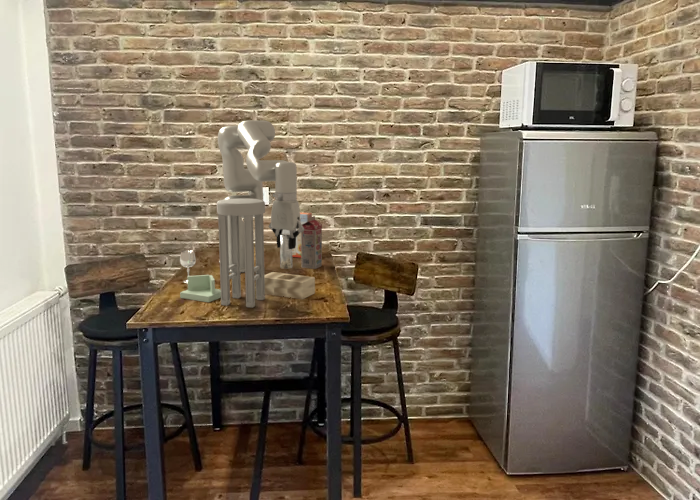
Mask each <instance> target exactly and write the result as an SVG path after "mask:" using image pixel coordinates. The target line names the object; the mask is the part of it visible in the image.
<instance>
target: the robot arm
mask: <svg viewBox="0 0 700 500" xmlns="http://www.w3.org/2000/svg"><path fill="white" fill-rule="evenodd" d="M275 138H276V129H275V126H274V125H273V123H272V122H270V120H261V119H260V120H257V119H256V120H255V119H247V120H243V121H241V122H240V123H238V125H227V126H223V127H221V128H220V129H219V131H218V133H217V145H218V149H219V152H220V155H221V158H222V159H221V160H222V172H223V173H222V174H223V175H222V176H223V185H224V188H225V190H226V191H227V192H230V193H243V192H244V193H245V192H247V193H249V194H240V195H239V194H236V195H234V194H233V195H228V196H226V197H225V198H223V199H222V200H224V199H243V198H245V199H259V200H263V201H264V189H263V188H264V186H263V183H264V182H275V183H274V184H275V185H274V187H275V190H274V191H275V192H274V193H272V197H273V198H275V199H274V200H273V202H272V207H271V212H270V223H269V224H268V229H270V230H271V231H272V232H273V234H274V235H275V237H276V247H277V248H278V249H280V234H282V231H283V230H289V231H290V236H291V238H290V239H289V249H294V248H295V246H296V237H297V236H298V235H299V234H300V233H301V232H302V231H304V228H303V226H302V224H301V219H300V212H301V211H300V210H301V208H300V203H299V200H298V199H297V198H298V197H297V196H298V194H297V193H298V192H297V190H298V188H297V187H298V186H297V185H298V184H297V183H298V181H297V180H298V179H297V178H298V177H297V175H298V173H297V172H298V171H297V164H296V163H295V162H293V161H287V160H284V159H283V160H282V159H281V160H280V159H278V160H277V159H268V160H267V159H263V158H264V157H265V156H267V155H269V154H270V151H271V148H272V144H271V143H272V142H273V141H274V139H275ZM238 148H246V149H247V153H246V159H245V163H246V167H247V168H245V164H244V157H243V155H242V153H241V151H240V150H239V149H238ZM261 159H263V160H261ZM227 217H228V249H229V266H230V265H231V234H230V216H229V215H227ZM253 218H255V215H253ZM296 229H298V230H297V231H296ZM239 241H240V274H241V273H245V244H244V216H239ZM218 264H220V260H219V261H218ZM229 274H232V270H230V271H229Z"/></svg>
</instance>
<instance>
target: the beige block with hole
mask: <svg viewBox="0 0 700 500" xmlns="http://www.w3.org/2000/svg"><path fill="white" fill-rule="evenodd" d="M264 277H265V295H269V296H270V295H271V296H277V297H283V296H284V297H285V298H290V297H291V299H297V300H304V299H306V298H308V297H310V296H313V295H314V294H315V293H316V278H315V276H308V275H307V276H306V275H299V274H293V273H292V274H290V273H284V272H276V271H275V272H274V271H272V272H269V273H267V274H264Z"/></svg>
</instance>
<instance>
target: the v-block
mask: <svg viewBox="0 0 700 500" xmlns="http://www.w3.org/2000/svg"><path fill="white" fill-rule="evenodd" d="M187 279H188V283H187V289H186V290H183V291H180V293H179V296H180V299H185V300H191V301H198V302H205V303H211V302H213V301H215V300H219V299H221V288H220V289H219V288H216V281H215V277H214V275H212V274H201V275H189V276H188V275H187V278H186V280H187Z"/></svg>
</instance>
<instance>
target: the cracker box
mask: <svg viewBox="0 0 700 500" xmlns="http://www.w3.org/2000/svg"><path fill="white" fill-rule="evenodd" d="M312 213H313V212H303V211H302V212H301V211H300V219H301V224H304V223H306V222H308V218H309V217H313V214H312ZM297 230H298V229H296V231H297ZM282 234H290V231H289V230H283V231H282ZM292 258H301V259H302V257H301V233H300V234H299V235H298V236H297V237H296V246H295V248H294V249H292Z"/></svg>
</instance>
